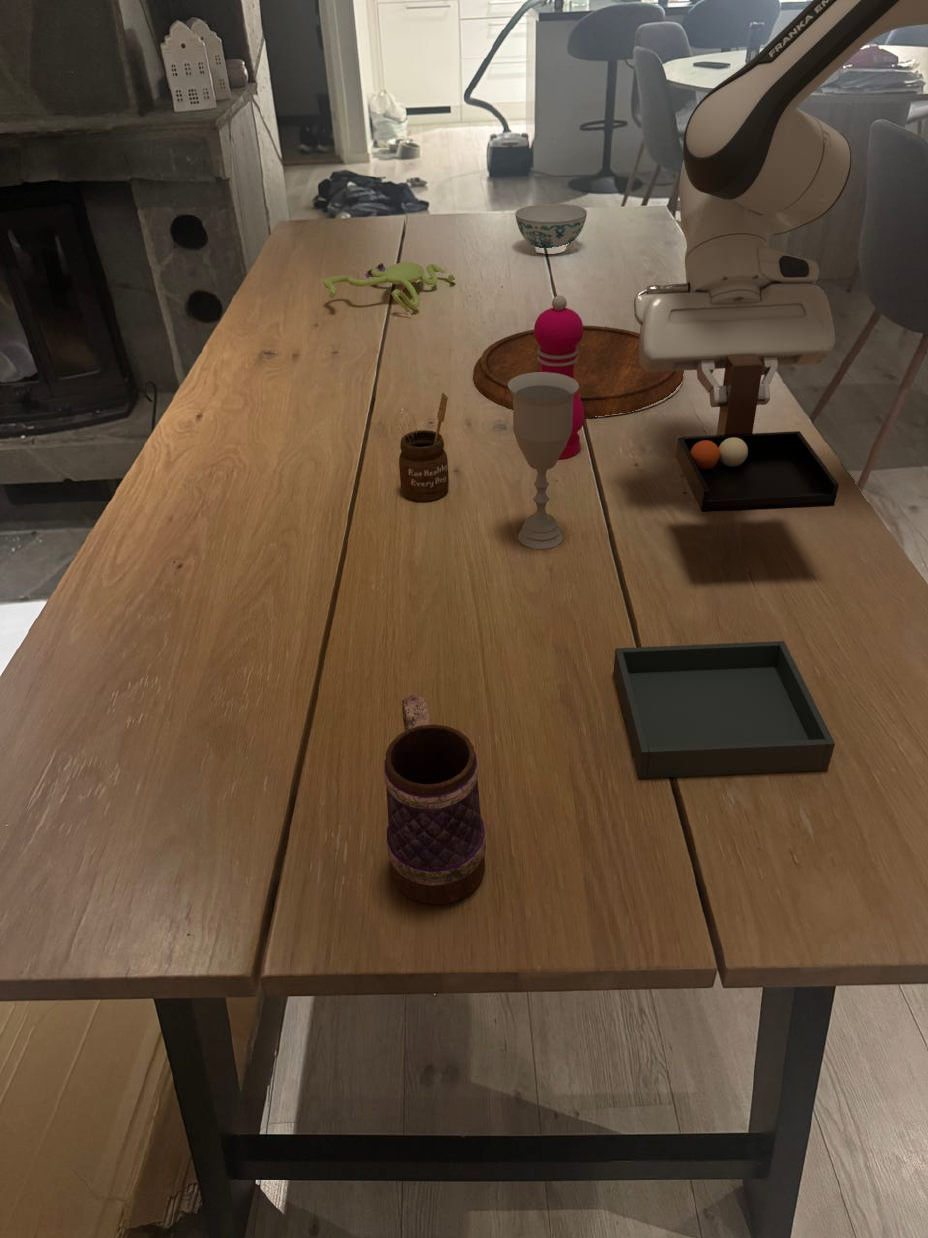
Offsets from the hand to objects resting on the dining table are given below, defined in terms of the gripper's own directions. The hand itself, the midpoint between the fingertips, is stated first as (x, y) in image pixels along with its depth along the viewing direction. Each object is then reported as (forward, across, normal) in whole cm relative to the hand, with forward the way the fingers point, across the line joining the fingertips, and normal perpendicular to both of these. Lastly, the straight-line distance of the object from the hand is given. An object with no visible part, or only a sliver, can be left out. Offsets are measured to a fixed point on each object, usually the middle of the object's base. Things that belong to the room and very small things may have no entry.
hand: (740, 404), depth 98 cm
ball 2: (+6, -2, -1) cm, 6 cm away
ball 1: (+6, -4, -1) cm, 7 cm away
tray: (+33, -9, -13) cm, 37 cm away
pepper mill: (-4, -17, +24) cm, 30 cm away
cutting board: (-22, -11, +42) cm, 49 cm away
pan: (+8, 0, 0) cm, 8 cm away
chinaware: (-71, -8, +91) cm, 116 cm away
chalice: (+11, -21, +9) cm, 26 cm away
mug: (+42, -33, -22) cm, 58 cm away
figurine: (-52, -41, +72) cm, 97 cm away
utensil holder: (+3, -34, +17) cm, 38 cm away
